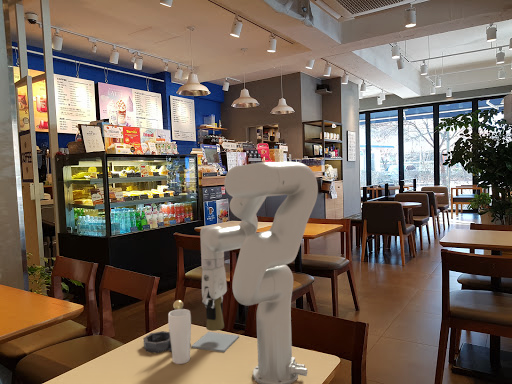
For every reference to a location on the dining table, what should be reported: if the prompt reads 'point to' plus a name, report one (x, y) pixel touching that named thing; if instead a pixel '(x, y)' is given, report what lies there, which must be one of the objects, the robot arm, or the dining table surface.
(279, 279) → the robot arm
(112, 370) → the dining table surface
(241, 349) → the dining table surface
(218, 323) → the olive rounded tall piece
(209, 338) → the mat
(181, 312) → the drinking glass
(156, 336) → the ring stand
